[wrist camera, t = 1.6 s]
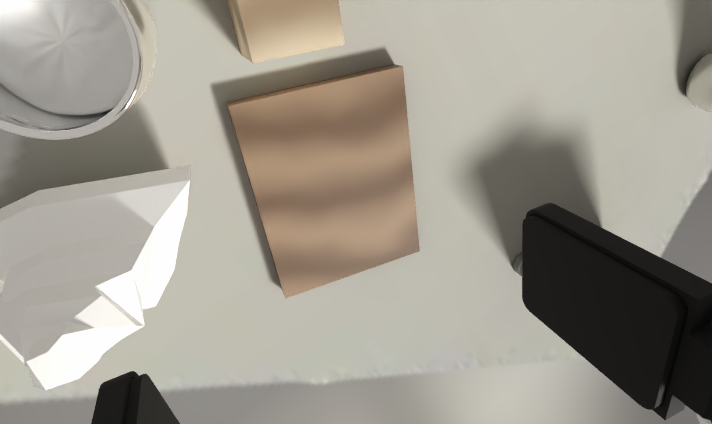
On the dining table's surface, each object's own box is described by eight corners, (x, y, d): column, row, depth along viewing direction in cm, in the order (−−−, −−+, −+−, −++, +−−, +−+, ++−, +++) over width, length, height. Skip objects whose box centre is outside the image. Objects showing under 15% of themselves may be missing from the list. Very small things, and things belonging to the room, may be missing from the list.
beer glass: (10, 11, 25) (-173, 6, 12) (107, -56, 25) (26, -128, 12) (105, 107, 28) (40, 181, 16) (187, 48, 29) (190, 75, 16)
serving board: (226, 102, 31) (228, 106, 30) (394, 64, 34) (402, 66, 33) (282, 289, 40) (285, 298, 38) (412, 244, 43) (419, 251, 42)
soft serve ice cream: (220, 263, 38) (226, 417, 28) (34, 294, 35) (-39, 482, 24) (191, 146, 30) (184, 300, 20) (-56, 170, 26) (-223, 374, 16)
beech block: (216, -40, 27) (223, -53, 22) (303, -53, 29) (328, -67, 24) (241, 55, 30) (252, 63, 25) (319, 39, 32) (344, 44, 27)
